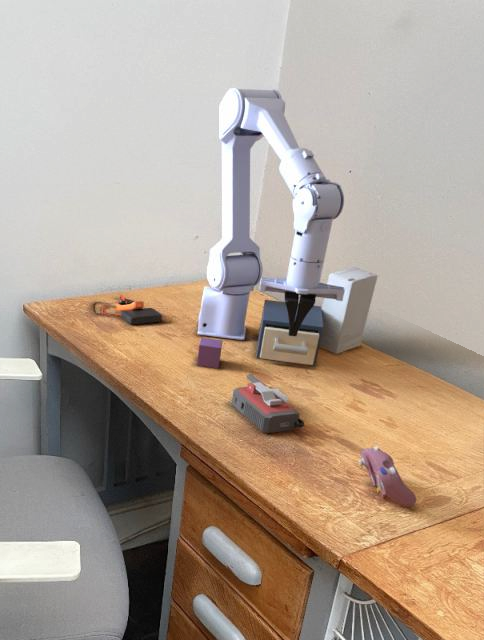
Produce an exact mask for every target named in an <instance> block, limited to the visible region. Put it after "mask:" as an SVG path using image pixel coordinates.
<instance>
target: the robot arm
mask: <svg viewBox="0 0 484 640" xmlns="http://www.w3.org/2000/svg"><path fill="white" fill-rule="evenodd" d="M218 108H219V114H218V115H219V120H218V121H219V122H218V123H219V128H218V129H219V140H220V141H221V239H220V240H219V241H218V242H217V243H215V244H214V245H213V247H211V248H210V250H209V260H208V264H207V268H206V278H207V281H208V284H209V285H210V286H207V285H206V286H204V288H203V291H202V297H201V298H202V299H201V304H200V312H199V313H198V319H197V323H198V326H197V327H198V328H197V335H199V336H206V337H212V338H213V337H214V338H220V339H221V338H222V339H229V340H237V341H245V338H246V332H247V331H246V330H247V325H246V320H247V319H246V318H247V313H248V308H249V307H248V305H249V301H250V293H251V292H254V289H255V286H257V285H258V284H259V288H258V292H263V293H265V292H271V293H280V294H284V302H285V304H286V307H287V312H288V317H289V336H297V333H298V330H299V328H300V326H301V324H302V322H303V320H304V318H305V317H306V315H307V314H308V312H309V311H310V310H311V309H312V307H313V306H315V305H316V298H323V299H324V298H330V299H336V300H337V301H342V300H343V296H344V292H345V289H344V287H339V286H333V285H329V284H327V283H323V282H321V279H322V272H323V269H324V263H325V258H326V254H327V249H328V243H329V239H330V235H331V230H332V227H333V226H332V225H333V220H335V219H337V218H339V216H340V215H341V214H342V212H343V209H344V206H345V205H344V204H345V195H344V191H343V189H342V186H341V184H339V183H338V182H336V181H335V182H334V181H331V179H329V178H326V176H325V173H323V171H322V169H321V168H320V166H319V164H318V162H317V161H316V159H315V158H314V156H315V154H314V153H313V151H312V150H309V149H308V148H305V147H300V146H299V143H298V142H297V140H296V137H295V135H294V133H293V131H292V129H291V127H290V125H289V123H288V120H287V119H286V116H285V113H286V112H285V111H286V102H285V100H284V99H283V98H282V94H281V93H280V92H279V91H278V90H277V89H276V88H270V89H252V88H251V89H249V88H248V89H247V88H238V87H231V88H229V89H228V90H227V91H226V93H225V95H224V96H223V98H222V100H221V101H220V104H219V107H218ZM262 138H265V140H266V141H267V142H268V144H269V145H270V147H271V148H272V150H273V151H274V153H275V154H276V156H277V157H278V158H279V160H280V161H281V162H280V164H279V170H278V171H279V173H280V176H281V177H282V179H283V180H284V182H285V184H286V186H287V187H288V189H289V191H290V193H291V195H292V196H293V199H292V212H293V216H294V219H293V230H294V236H293V242H292V247H291V253H290V257H289V264H288V269H287V274H286V278H282V277H281V278H274V277H262V276H263V272H264V271H263V269H264V268H263V263H262V260H261V253H260V251H261V250H260V246H258V244H257V243H256V242H255V241H254V240H253V239H252V238H251V237H250V236H251V235H250V233H251V232H250V231H251V229H250V228H251V227H250V226H251V225H250V223H251V149H252V148H253V146H254V145H255V143H256V142H259V141H260V140H262ZM236 253H237V254H236ZM238 253H240V254H238ZM230 254H233V255H230ZM298 304H299V306H298ZM297 307H298V311H297ZM296 312H297V316H296ZM295 316H296V320H295Z"/></svg>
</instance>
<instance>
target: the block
mask: <svg viewBox="0 0 484 640" xmlns="http://www.w3.org/2000/svg"><path fill="white" fill-rule="evenodd" d="M222 348H223V340H222V339H214V338H207V337H200V341H199V345H198V352H197V358H196V366H198V367H204V368H205V367H206V368H214V369H218V368H219V366H220V361H221V354H222Z"/></svg>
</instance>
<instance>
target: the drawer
mask: <svg viewBox="0 0 484 640" xmlns="http://www.w3.org/2000/svg"><path fill="white" fill-rule="evenodd" d="M318 340H319V333H315V330H308V329H300V328H299V330H298V333H297V336H289V327H284V326H276V325H267V327H265V331H264V336H263V342H262V348H261V353H260V358H262V359H261V360H267V359H270V360H269V361H275V360H278V361H277V362H282V361H285V363H290V362H293V363H292V364H298V363H300V364H299V365H305V364H308V365H307V366H313V363H314V358H315V353H316V349H317V344H318ZM260 358H259V359H260Z"/></svg>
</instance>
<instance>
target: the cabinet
mask: <svg viewBox="0 0 484 640" xmlns="http://www.w3.org/2000/svg"><path fill="white" fill-rule="evenodd" d="M298 306H299V303H298ZM321 310H322V305H321V306H320V305H314V306H313V307H312V309H311V310H310V311H309V312H308V314H307V315H306V317H305V318H304V320H303V322H302V324H301V326H300V329H308V330H315V333H319V340H318V344H317V349H316V353H315V358H314V363H313V365H312V366H313V367H315V366H316V362H317V358H318V353H319V349H320V347H319V345H320V340H321V336H322V331H323V320H322V311H321ZM297 311H298V307H297ZM296 316H297V312H296ZM296 316H295V320H296ZM267 325H276V326H284V327H289V317H288V312H287V307H286V304H285V301H279V300H271V299H264V301H263V307H262V313H261V320H260V325H259V331H258V335H257V336H258V337H257V347H256V355H255V356H256V357H255V358H256V359H261V360H263V359H262V358H260V353H261V348H262V342H263V336H264V331H265V327H267ZM266 360H269V361H271V360H270V359H266ZM274 361H276V362H279V361H278V360H274ZM281 362H282V363H283V362H285V361H281ZM285 363H286V362H285ZM289 363H290V364H291V363H292V364H294V363H293V362H289ZM297 364H298V365H301V364H300V363H297ZM304 365H306V366H309V365H308V364H304Z"/></svg>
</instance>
